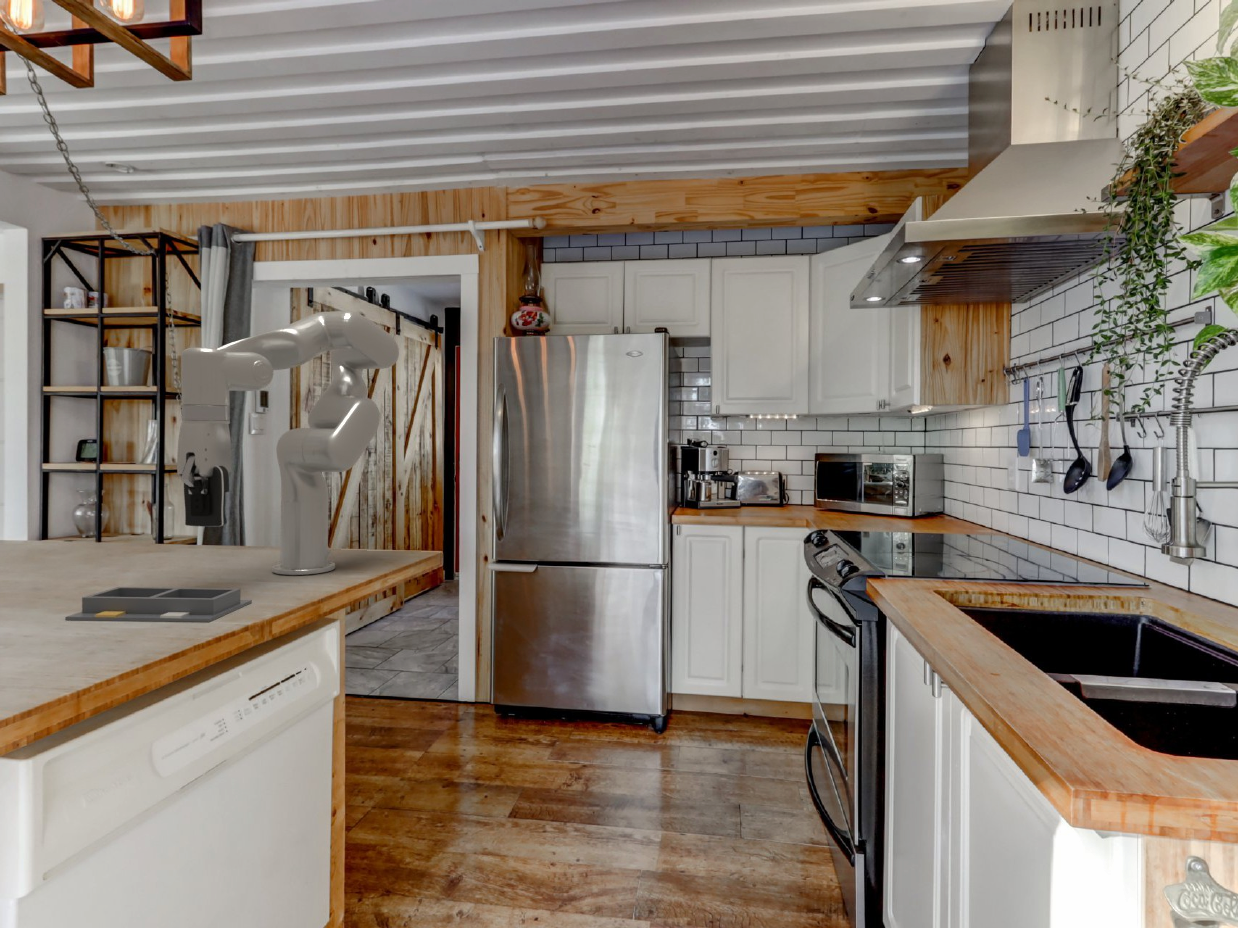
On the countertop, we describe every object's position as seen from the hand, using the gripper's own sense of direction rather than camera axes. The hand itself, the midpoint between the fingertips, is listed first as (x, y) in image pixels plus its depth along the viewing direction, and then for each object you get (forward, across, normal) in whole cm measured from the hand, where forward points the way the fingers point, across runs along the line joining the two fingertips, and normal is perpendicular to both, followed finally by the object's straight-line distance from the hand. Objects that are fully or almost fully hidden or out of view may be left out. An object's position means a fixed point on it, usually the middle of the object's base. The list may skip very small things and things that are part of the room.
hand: (207, 513), depth 124 cm
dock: (+15, +14, +1) cm, 20 cm away
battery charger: (+3, 0, 0) cm, 3 cm away
